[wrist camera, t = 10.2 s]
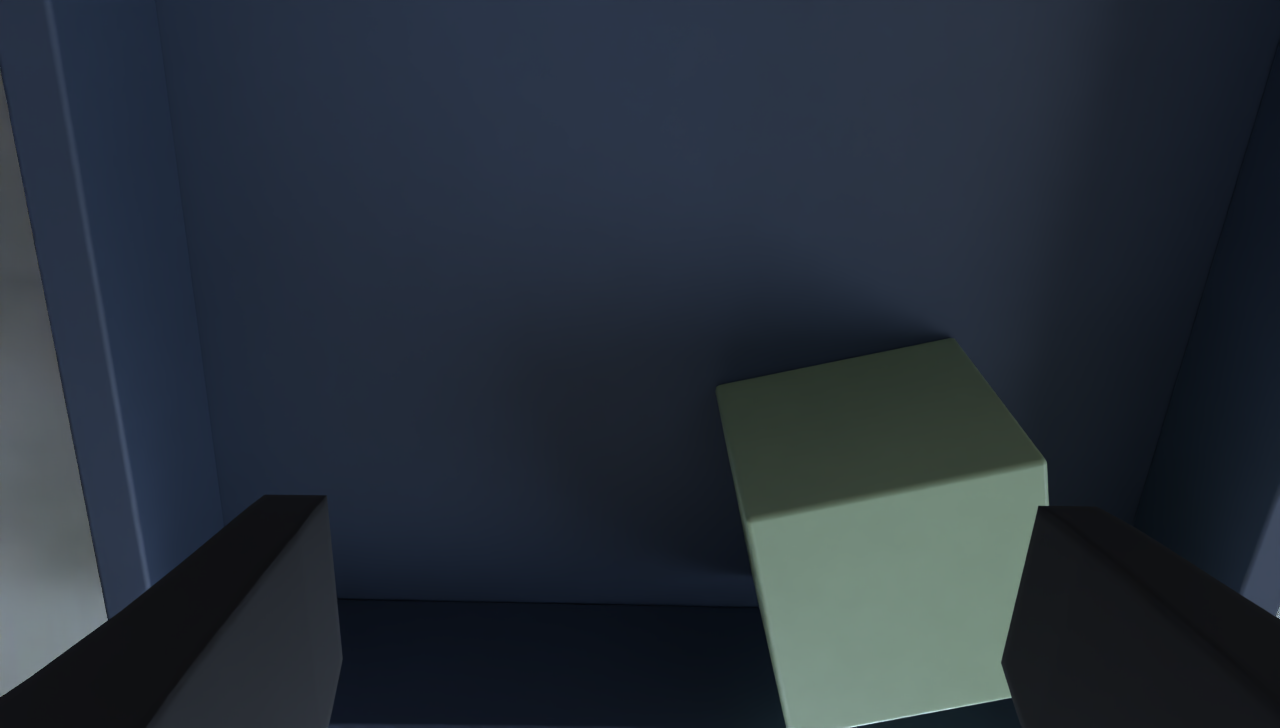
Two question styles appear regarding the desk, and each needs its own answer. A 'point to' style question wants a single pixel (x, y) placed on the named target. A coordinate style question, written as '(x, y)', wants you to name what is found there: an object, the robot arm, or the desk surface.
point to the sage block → (883, 530)
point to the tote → (632, 297)
